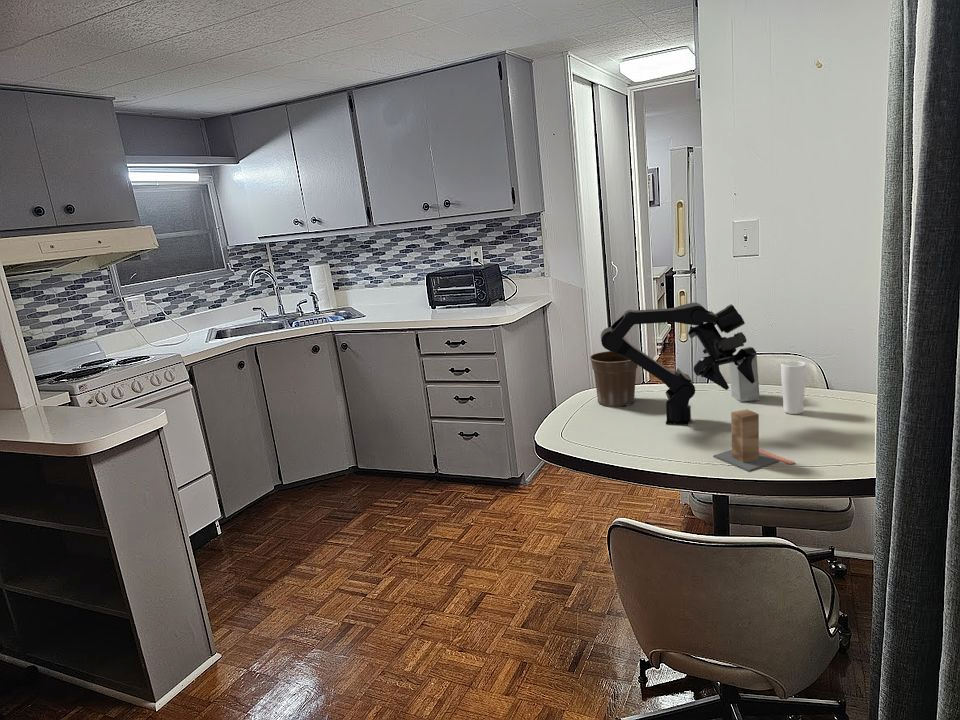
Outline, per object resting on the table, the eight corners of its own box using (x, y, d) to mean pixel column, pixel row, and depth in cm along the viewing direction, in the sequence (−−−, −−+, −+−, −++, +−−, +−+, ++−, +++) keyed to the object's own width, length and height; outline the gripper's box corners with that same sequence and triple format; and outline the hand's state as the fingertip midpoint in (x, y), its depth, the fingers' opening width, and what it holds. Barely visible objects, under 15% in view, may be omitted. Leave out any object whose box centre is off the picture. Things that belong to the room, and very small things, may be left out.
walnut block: (731, 456, 171) (731, 412, 169) (747, 453, 172) (747, 409, 170) (742, 462, 167) (742, 417, 164) (758, 459, 168) (758, 414, 165)
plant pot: (641, 394, 232) (639, 349, 228) (641, 408, 217) (639, 360, 213) (594, 395, 236) (591, 351, 232) (591, 410, 221) (588, 362, 217)
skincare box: (760, 400, 213) (760, 352, 209) (737, 402, 213) (737, 354, 209) (750, 393, 221) (749, 346, 217) (728, 395, 221) (727, 349, 217)
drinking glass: (805, 408, 201) (806, 360, 198) (805, 416, 195) (806, 366, 192) (781, 408, 204) (781, 360, 201) (780, 415, 198) (780, 366, 195)
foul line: (735, 444, 180) (735, 443, 180) (739, 442, 181) (739, 441, 181) (790, 464, 164) (790, 463, 164) (795, 463, 165) (795, 462, 164)
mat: (713, 456, 173) (713, 455, 173) (742, 447, 177) (742, 446, 177) (748, 471, 163) (748, 470, 162) (778, 461, 166) (778, 460, 166)
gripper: (699, 329, 183) (729, 376, 175) (751, 319, 189) (782, 363, 182) (681, 352, 192) (708, 398, 184) (732, 342, 198) (760, 385, 191)
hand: (740, 385), depth 185 cm, fingers open, 9 cm apart
